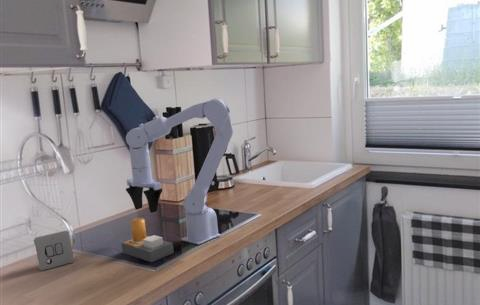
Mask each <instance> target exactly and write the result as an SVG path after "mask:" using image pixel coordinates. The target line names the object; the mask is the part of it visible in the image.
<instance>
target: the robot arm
mask: <svg viewBox="0 0 480 305" xmlns="http://www.w3.org/2000/svg"><path fill="white" fill-rule="evenodd" d="M195 118H197V119H205V118H206V119H207V120H208V121H209V122H210V123H211V124H212V126H213V129H214V131H215V137H214V139H213V141H212V143H211V146H210V147H209V151H208V152H207V155H206V158H205V160H204V161H203V165H202V166H201V169H200V171H199V173H198V175H197V178H196V180H195V182H194V185H193V186H192V188H191V189H189V191H188V192H187V195H186V196H185V197H184V199H183V203H182V204H183V205H182V206H183V209H184V215H185V224H186V225H185V226H186V233H187V236H185V237H182V238H181V241H183V242H186V243H189V244H194V245H202V244H204V243H207V242H209V241H210V240H213V239H215V238H217V237H220V236H221V234H220V233H219V228H218V227H219V226H218V217H217V213H216V211H215V210H214V209H213V208H212V207H208V206H207V204H205V203H206V202H207V200H208V191H209V189H210V187H211V184H212V181H213V179H214V177H215V175H216V173H217V170H218V168H219V165H221V162H222V159H223V156H224V154H225V152H226V149H227V148H228V145H229V143H230V141H231V139H232V137H233V133H234V127H233V123H232V116H231V110H230V108H229V107H228V105H227V103H226V102H225V100H223V99H222V98H219V97H218V98H213V99H211V100H207V101H204V102H203V101H202V102H199V103H196V104H193V105H191V106H190V107H187V108H185V109H183V110H181V111H179V112H178V113H175V114H173V115H171V116H169V117H165V116H162V115H161V116H158V115H156V116H154V117H152V120H150V121H147V122H145V123H140V124H138V126H139V127H135V128H134V127H133V128H132V129H130V130H129V131H128V132H127V133H126V136H125V142H126V144H127V145H128V146H129V155H130V164H131V166H130V167H131V175H132V178H129V179H126V186H127V187H126V188H125V191H126V193H127V194H128V195H129V197H130V199H131V200H132V204H133V206H134V208H135V210H139V209H140V210H141V209H143V194H144V195H145V197H146V201H147V205H148V209H149V212H150V214H151V213H152V214H153V213H155V212H158V207H159V200H160V197H161V195H162V192H163V188H162V187H161V182H158V181H156V180H154V179H153V174H152V166H151V157H150V150H149V143H152V142H154V141H156V140H158V139H160V138H163V137H165V136H167V135H169V134H170V133H171V131H172V128H173V127H176V126H178V125H180V124H182V123H185V122H188V121H190V120H192V119H195ZM144 188H145V189H146V190H144Z"/></svg>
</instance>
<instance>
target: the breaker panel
mask: <svg viewBox="0 0 480 305" xmlns="http://www.w3.org/2000/svg"><path fill="white" fill-rule="evenodd" d="M146 236H147V238H148V237H150V236H149V235H146ZM130 240H133V238H132V239H129V240H126V241H124V242H121V249H122V254H126V255H128V256H131V257H134V258H136V259H140V260H144V261H146V262H149V263H154V262H155V261H158V260H161V259H163V258H165V257H167V256H169V255H172V254H174V253H175V251H174V243H173V242H172V241H171V242H170V241H166V240H164V239H163V245H161V246H159V247H156V248H154V249H150V248H146V247H144V245H143V243H141V244H138V245H136V244H133V243H131V241H130Z"/></svg>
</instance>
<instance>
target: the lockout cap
mask: <svg viewBox="0 0 480 305" xmlns="http://www.w3.org/2000/svg"><path fill="white" fill-rule="evenodd" d="M130 228H131V234H132V236H131V237H132V239H133V241H134V242H141V241H143V239H145V238H147V236H148V235H147V230H146V220H145V218H144V217H135V218H133V219H131V220H130Z"/></svg>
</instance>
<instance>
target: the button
mask: <svg viewBox="0 0 480 305" xmlns="http://www.w3.org/2000/svg"><path fill="white" fill-rule="evenodd" d="M163 240H164V237H162V236H159V235H151V236H149V237H148V238H145V239H143V245H144V247H146V248H150V249H154V248H156V247H159V246H161V245H163Z"/></svg>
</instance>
